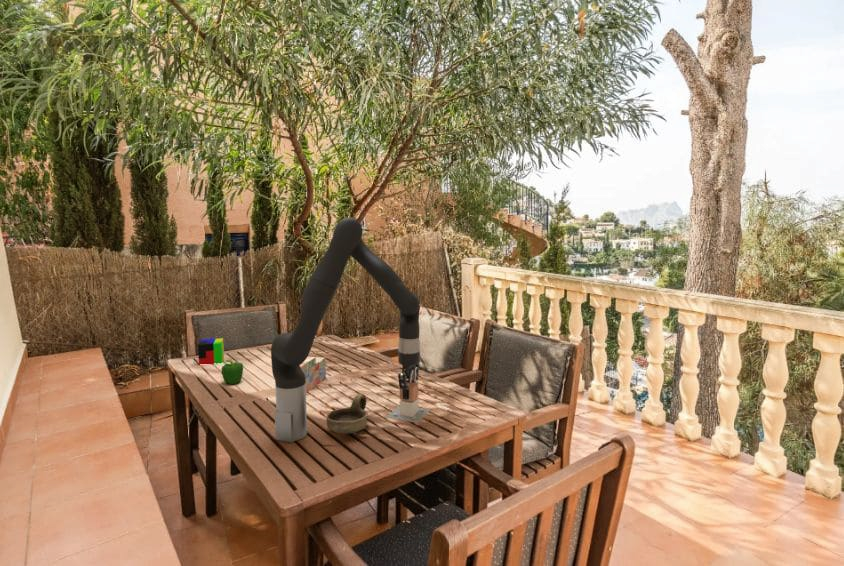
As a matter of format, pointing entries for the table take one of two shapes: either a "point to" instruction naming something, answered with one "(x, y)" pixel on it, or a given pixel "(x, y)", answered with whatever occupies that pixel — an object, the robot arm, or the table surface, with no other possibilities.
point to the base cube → (408, 407)
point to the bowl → (349, 417)
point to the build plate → (415, 418)
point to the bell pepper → (232, 372)
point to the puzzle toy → (211, 351)
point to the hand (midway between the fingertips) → (408, 396)
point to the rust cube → (411, 392)
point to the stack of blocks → (313, 371)
